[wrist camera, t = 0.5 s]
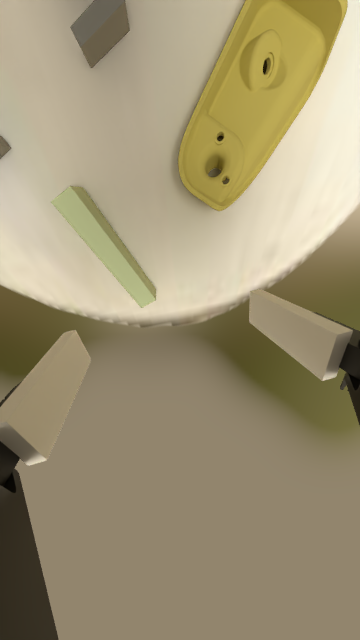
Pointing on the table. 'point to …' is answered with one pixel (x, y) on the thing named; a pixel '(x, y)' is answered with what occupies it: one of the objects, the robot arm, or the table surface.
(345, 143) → the table surface
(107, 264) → the slat
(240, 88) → the plastic component
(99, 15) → the end caps
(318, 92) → the table surface
